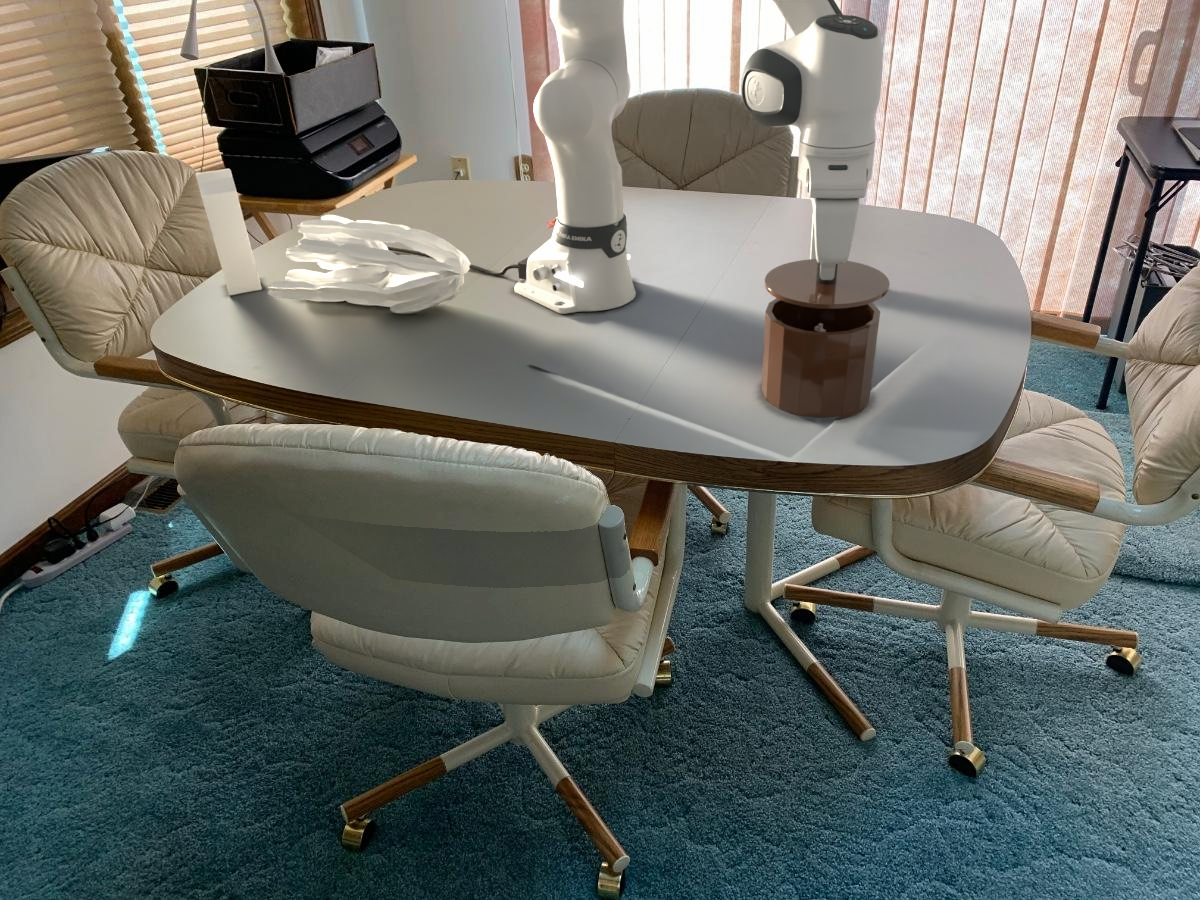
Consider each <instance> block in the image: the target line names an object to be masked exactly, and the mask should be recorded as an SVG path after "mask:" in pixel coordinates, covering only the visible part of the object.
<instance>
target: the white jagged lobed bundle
mask: <svg viewBox="0 0 1200 900" xmlns="http://www.w3.org/2000/svg"><path fill="white" fill-rule="evenodd" d="M295 225H296V226H297V227H298V229H297V231H298V233H301V234H303V235H302V236H303V237H302V238H300V239H298V240H297V244H296V245H295V246H294V245H290V246H288V247H286V252H285V255H286V258H287V259H288V260H290V261H293V262H300V263H301V262H302V263H305V262H312V263H317V265H319V267H320V268H321V269H325V270H330V271H327V272H326V273H324V272H321V271H313V270H310V269H304V268H298V269H290V270H289V271H286V276H285V277H284V279H285V281H283V280H278V281H277V280H275V281H273V282H271V283H270V284H269V285H268V286H269V287H267V289H268V291H267V294H268V295H269V296H271V297H274V298H279V299H287V300H304V301H305V300H306V301H310V302H318V303H319V302H320V303H321V302H322V303H323V302H326V303H327V302H328V303H336V302H344V301H345V302H346V303H348V304H352V305H362V306H379V307H387V308H390V309H389V310H390V312H392V313H395V314H401V315H409V314H414V313H417V312H421V311H424V310H428V309H430V308H433V307H435V306H437V305H439V304H441V303H443V302H447V301H451V300H452V299H454V298H456V296H457V294H459V293H458V292H460V290H462V288H463V287H462V286H463V284H465V275H466V274H467V273H468V272H469V271H470V270H471V268H469V266H470V265H471V262H470V260H469V258H468V256H466V255H465V253H464V252H462V251H461V250H459V249H458V248H457V247H455V245H453V244H452V243H450V242H448V241H447V240H446V239H444V238H442V237H439V235H436V234H434V233H432V232H429V231H426V230H423V229H419V228H411V227H409V226H408V225H405V224H395V223H389V222H385V221H379V220H377V221H376V220H369V219H361V220H360V219H357V220H355V221H354V220H352V219H349V218H347V217H343V216H340V215H335V214H325V215H323V216H321V217H320V219H319V218H316V219H307V220H304V221H301V222H300V224H295ZM385 243H386V244H395V243H401V245H402V246H403V247H408V248H409V249H410V250H414V251H420V252H421V253H425V254H427V255H429V256H431V257H432V258H429V257H425V256H420V255H412V254H397V253H395V252H393V251H390V250H388V248H387V246H388V245H386V244H385Z"/></svg>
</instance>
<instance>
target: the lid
mask: <svg viewBox="0 0 1200 900" xmlns="http://www.w3.org/2000/svg"><path fill="white" fill-rule="evenodd" d="M763 285H764V287H765V290H766V291H767V292H768V293H769V294H770V295H771V296H772V297H774V298H775V299H776V298H778V299H780V300H782V301H785V302H788V303H791V304H795V305H799V306H805V307H811V308H824V309H839V308H851V307H857V306H862V305H866V304H869V303H875V302H877V301H879V300H881V299H882V298H884V297H885V296H886V295H887V294H888V292H889V291H890V286H891V285H890V280H889V277H888V276H887V275H886V274H885V273H883V272H882V271H881V270H879V269H877V268H875V267H873V266H870V265H869V264H864V263H861V262H856V261H851V260H847V262H846V263H844V264H836V267H835V276H834V279H832V280H822V279H821V278H820V263H818V262H817V259H810V258H809V259H801V260H795V261H791V262H787V263H783V264H780V265H778V266H776V267H774V268H772V269H771V270H770V271H768V272H767V273H766V275H765V277H764V283H763Z"/></svg>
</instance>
